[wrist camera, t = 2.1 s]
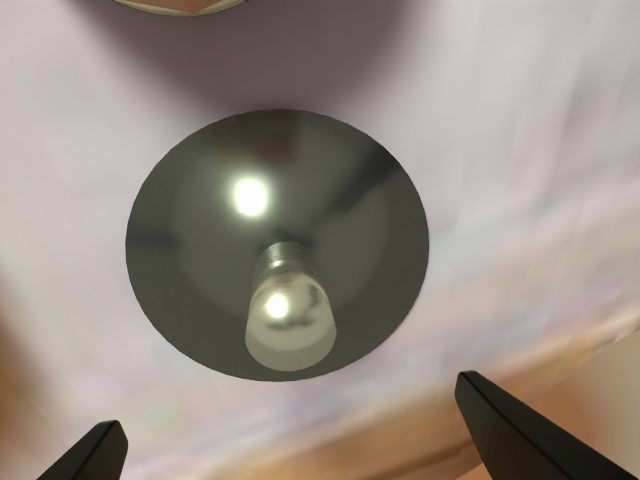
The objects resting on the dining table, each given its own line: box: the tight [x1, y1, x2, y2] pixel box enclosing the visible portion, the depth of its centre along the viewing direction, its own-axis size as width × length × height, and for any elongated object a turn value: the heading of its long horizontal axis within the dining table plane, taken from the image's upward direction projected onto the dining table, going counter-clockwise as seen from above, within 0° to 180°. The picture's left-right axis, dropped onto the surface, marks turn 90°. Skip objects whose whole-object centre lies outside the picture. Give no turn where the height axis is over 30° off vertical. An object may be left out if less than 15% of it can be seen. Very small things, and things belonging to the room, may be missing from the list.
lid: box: [125, 109, 429, 382], centre depth 13 cm, size 15×15×6 cm
